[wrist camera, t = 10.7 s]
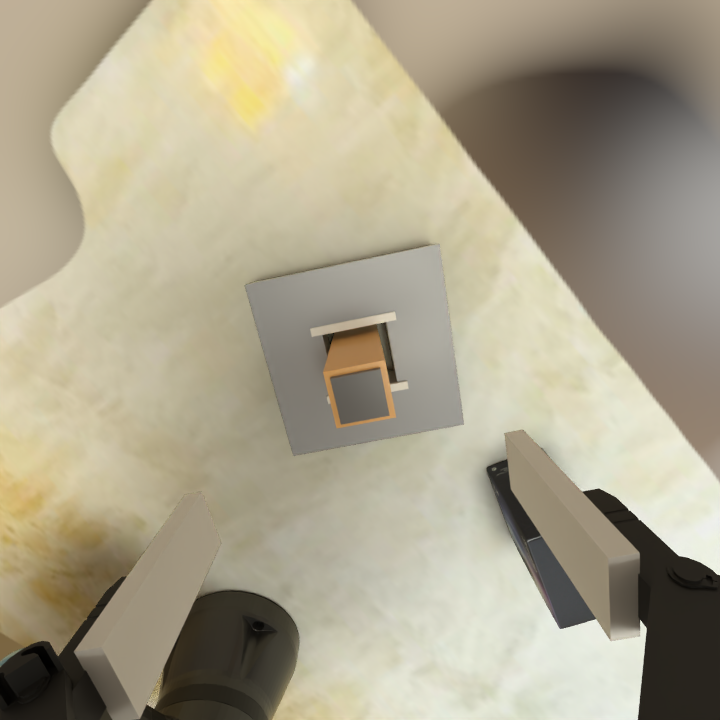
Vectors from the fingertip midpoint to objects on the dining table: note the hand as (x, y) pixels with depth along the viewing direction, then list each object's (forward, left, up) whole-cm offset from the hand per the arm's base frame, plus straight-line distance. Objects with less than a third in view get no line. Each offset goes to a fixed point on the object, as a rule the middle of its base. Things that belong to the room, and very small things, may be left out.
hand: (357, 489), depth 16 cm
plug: (0, +1, -21) cm, 21 cm away
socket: (0, +1, -21) cm, 21 cm away
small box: (+15, -19, -21) cm, 32 cm away
